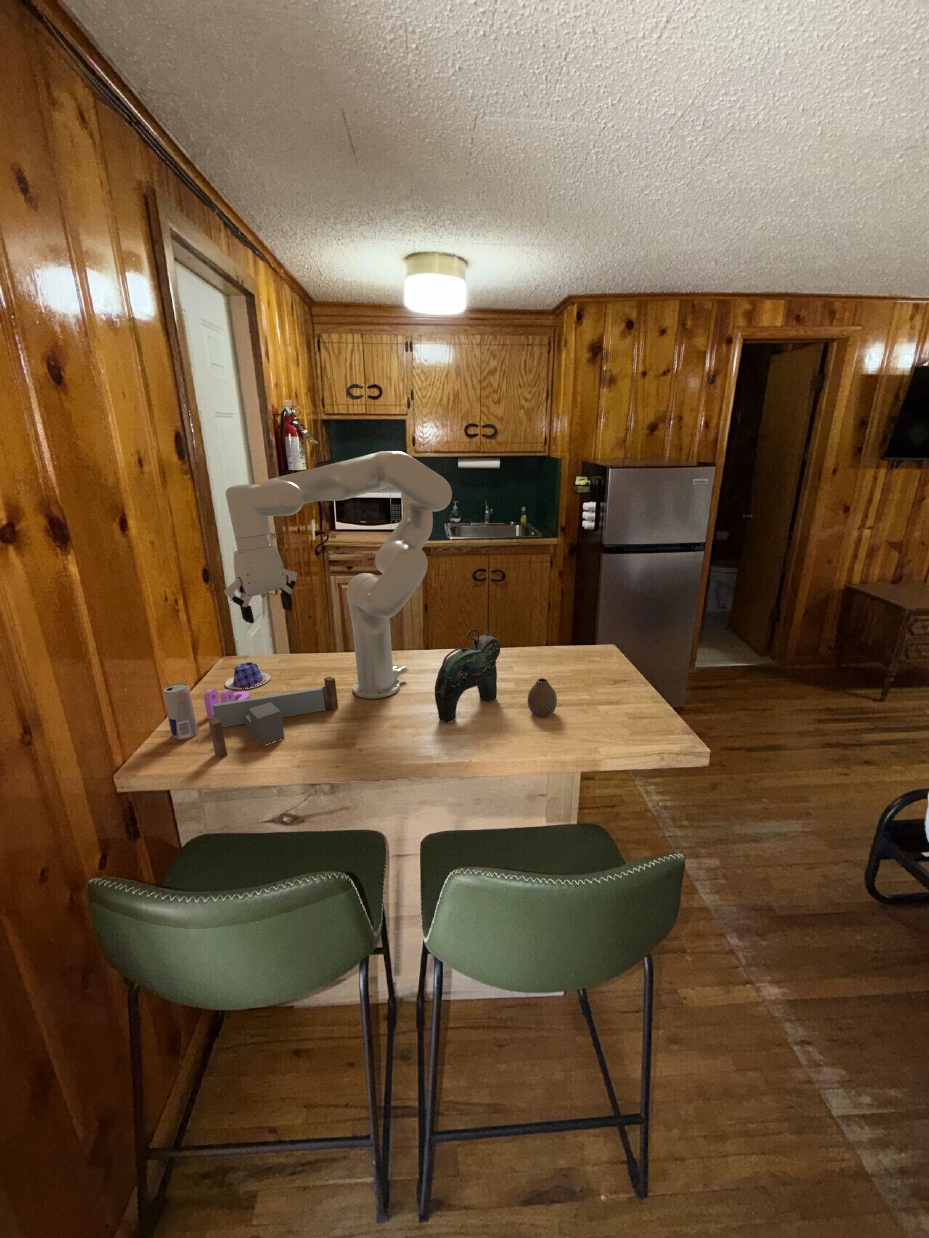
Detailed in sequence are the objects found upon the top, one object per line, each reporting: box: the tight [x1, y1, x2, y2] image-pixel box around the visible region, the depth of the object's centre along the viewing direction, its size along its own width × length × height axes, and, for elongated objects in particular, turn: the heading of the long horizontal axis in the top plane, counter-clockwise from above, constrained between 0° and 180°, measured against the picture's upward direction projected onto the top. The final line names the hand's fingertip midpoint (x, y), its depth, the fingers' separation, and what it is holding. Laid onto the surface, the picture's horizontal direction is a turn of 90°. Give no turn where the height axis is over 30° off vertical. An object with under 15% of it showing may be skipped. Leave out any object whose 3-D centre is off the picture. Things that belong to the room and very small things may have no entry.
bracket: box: [203, 688, 251, 720], centre depth 137 cm, size 13×6×7 cm, turn 175°
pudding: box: [224, 661, 271, 690], centre depth 152 cm, size 12×12×5 cm
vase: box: [527, 677, 558, 718], centre depth 128 cm, size 7×7×9 cm
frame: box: [208, 675, 339, 759], centre depth 125 cm, size 30×2×8 cm, turn 137°
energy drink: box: [162, 682, 199, 741], centre depth 123 cm, size 5×5×12 cm
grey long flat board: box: [212, 685, 330, 728], centre depth 130 cm, size 26×1×6 cm, turn 108°
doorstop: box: [244, 702, 286, 747], centre depth 123 cm, size 5×11×7 cm, turn 39°
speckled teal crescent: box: [434, 628, 501, 724], centre depth 130 cm, size 20×6×20 cm, turn 135°
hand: (269, 615), depth 124 cm, fingers open, 9 cm apart
